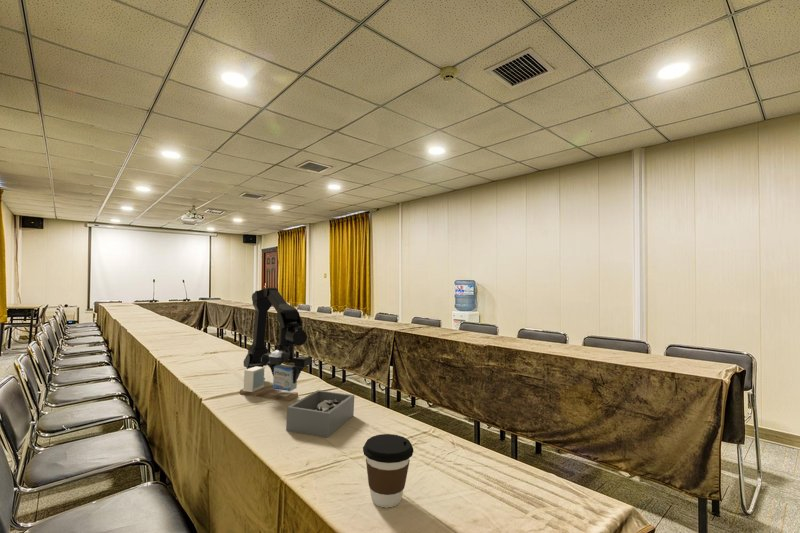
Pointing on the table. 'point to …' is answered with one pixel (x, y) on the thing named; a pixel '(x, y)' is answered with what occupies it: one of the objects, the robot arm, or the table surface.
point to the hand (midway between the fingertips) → (285, 381)
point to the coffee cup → (387, 467)
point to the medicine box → (284, 378)
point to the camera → (327, 405)
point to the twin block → (253, 378)
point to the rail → (272, 394)
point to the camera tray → (319, 414)
